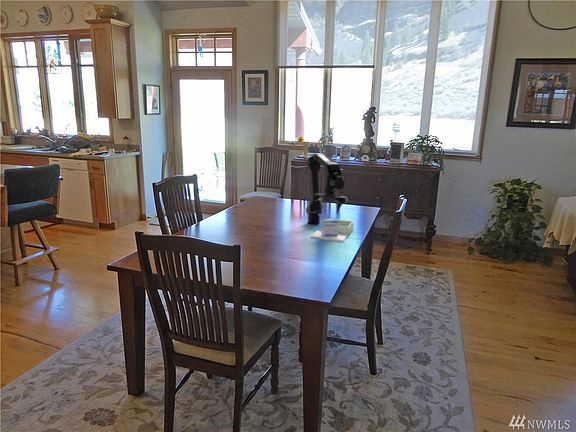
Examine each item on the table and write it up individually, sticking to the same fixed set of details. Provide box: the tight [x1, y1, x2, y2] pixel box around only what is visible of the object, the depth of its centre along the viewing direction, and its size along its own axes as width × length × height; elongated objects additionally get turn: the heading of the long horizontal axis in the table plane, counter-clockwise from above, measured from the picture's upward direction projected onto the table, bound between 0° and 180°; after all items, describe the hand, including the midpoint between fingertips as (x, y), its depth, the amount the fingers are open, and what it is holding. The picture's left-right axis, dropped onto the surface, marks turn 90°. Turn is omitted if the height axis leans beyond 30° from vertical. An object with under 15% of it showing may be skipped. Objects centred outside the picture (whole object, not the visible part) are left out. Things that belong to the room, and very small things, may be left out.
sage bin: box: [335, 218, 355, 237], centre depth 234 cm, size 15×14×5 cm
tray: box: [310, 230, 349, 243], centre depth 224 cm, size 18×11×1 cm, turn 70°
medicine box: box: [321, 218, 339, 237], centre depth 223 cm, size 8×4×9 cm, turn 106°
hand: (329, 212), depth 229 cm, fingers open, 9 cm apart
